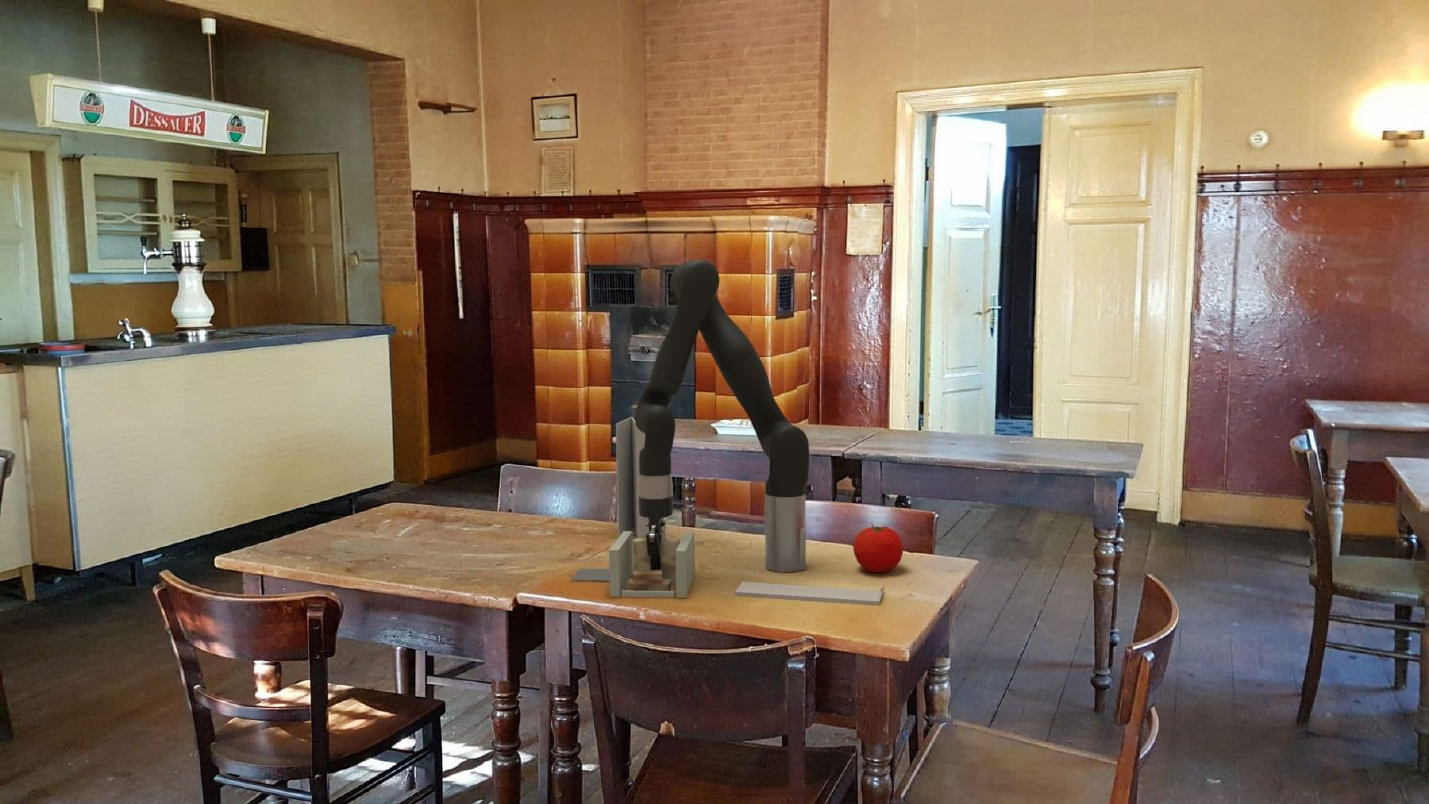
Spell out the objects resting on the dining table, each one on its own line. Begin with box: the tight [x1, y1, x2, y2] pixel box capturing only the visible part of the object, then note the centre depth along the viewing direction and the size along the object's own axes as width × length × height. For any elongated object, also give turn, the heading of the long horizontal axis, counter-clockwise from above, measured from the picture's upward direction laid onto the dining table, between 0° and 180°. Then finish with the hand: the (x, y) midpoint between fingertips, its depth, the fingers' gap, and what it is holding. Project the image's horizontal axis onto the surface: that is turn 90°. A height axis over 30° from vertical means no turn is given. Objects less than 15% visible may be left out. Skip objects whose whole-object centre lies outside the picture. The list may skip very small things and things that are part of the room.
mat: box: [570, 568, 610, 583], centre depth 233 cm, size 10×9×1 cm
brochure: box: [615, 416, 649, 539], centre depth 271 cm, size 14×6×30 cm, turn 168°
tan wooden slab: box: [632, 537, 681, 579], centre depth 229 cm, size 10×2×9 cm, turn 84°
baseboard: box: [734, 581, 885, 606], centre depth 218 cm, size 30×3×10 cm
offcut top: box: [632, 570, 662, 584], centre depth 219 cm, size 6×3×2 cm, turn 93°
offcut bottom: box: [625, 579, 672, 591], centre depth 219 cm, size 9×3×3 cm, turn 84°
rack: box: [608, 530, 696, 599], centre depth 224 cm, size 16×16×10 cm
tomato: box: [852, 523, 904, 573], centre depth 235 cm, size 11×13×10 cm
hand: (656, 570), depth 229 cm, fingers closed on tan wooden slab, 2 cm apart
